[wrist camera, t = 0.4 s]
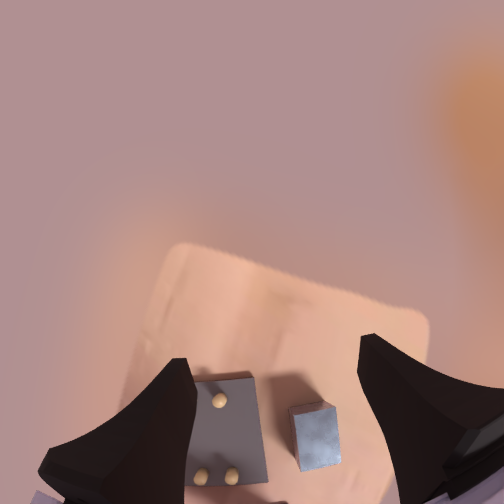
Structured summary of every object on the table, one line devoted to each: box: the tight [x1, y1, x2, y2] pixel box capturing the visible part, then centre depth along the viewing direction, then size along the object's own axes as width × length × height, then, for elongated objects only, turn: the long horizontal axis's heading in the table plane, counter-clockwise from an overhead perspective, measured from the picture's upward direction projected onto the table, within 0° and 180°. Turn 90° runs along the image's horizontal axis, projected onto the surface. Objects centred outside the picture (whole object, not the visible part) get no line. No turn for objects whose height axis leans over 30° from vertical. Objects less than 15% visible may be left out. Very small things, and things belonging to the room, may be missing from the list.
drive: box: [289, 401, 341, 472], centre depth 29 cm, size 8×5×6 cm, turn 7°
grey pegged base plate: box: [185, 377, 268, 486], centre depth 29 cm, size 16×13×4 cm
